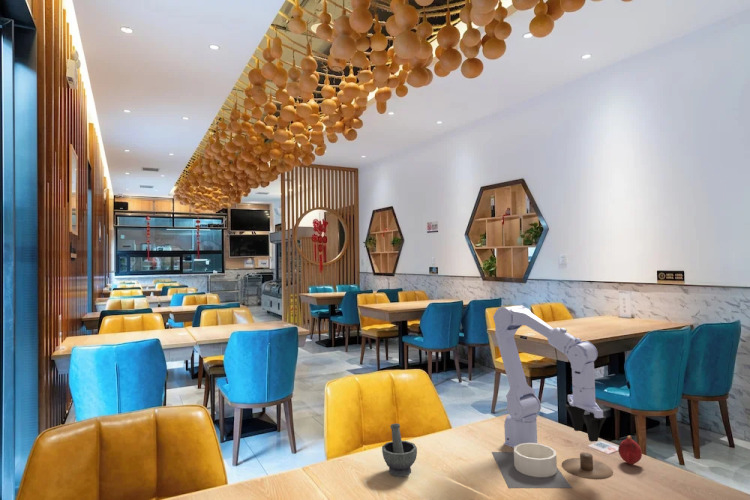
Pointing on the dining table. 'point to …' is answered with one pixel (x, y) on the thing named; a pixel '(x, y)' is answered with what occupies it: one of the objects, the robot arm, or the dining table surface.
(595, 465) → the lid
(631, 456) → the onion
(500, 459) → the placemat
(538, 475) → the bowl
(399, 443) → the mortar and pestle
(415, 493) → the dining table surface
